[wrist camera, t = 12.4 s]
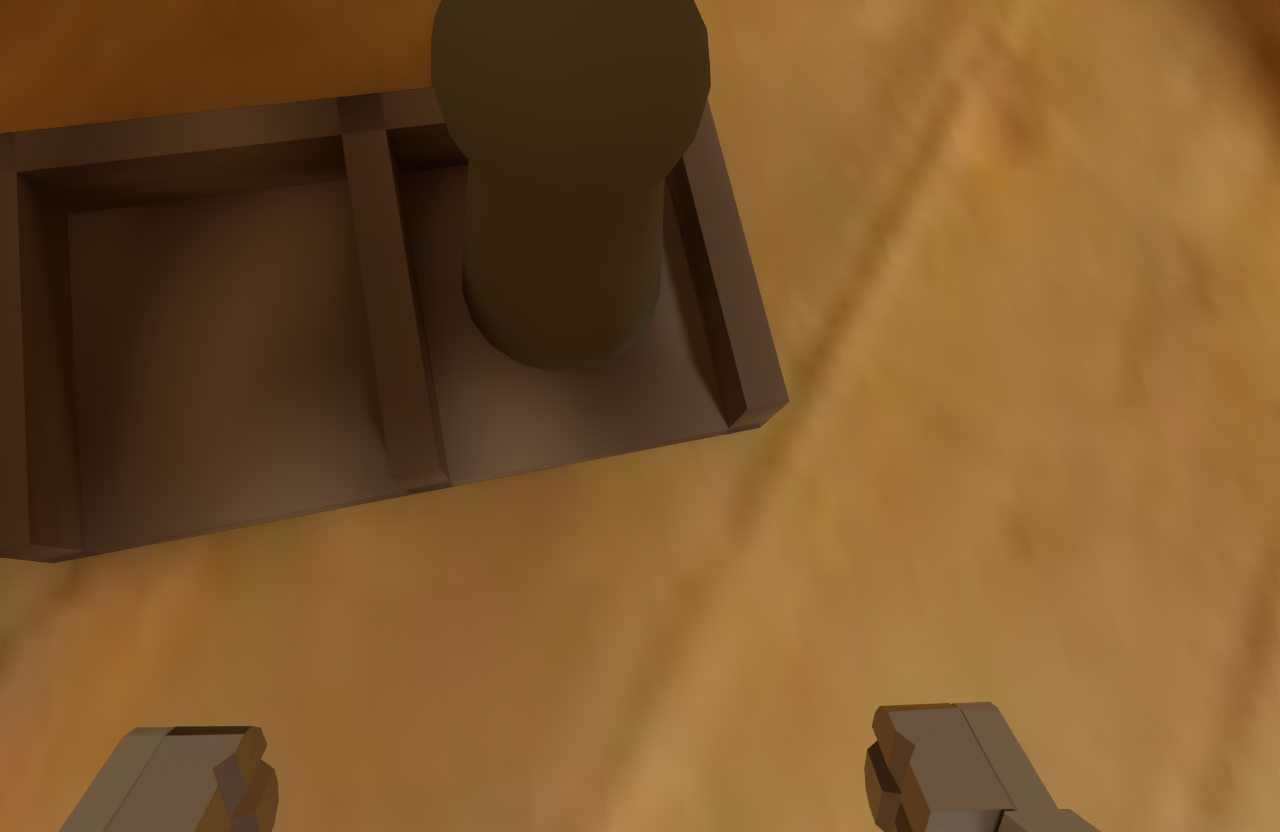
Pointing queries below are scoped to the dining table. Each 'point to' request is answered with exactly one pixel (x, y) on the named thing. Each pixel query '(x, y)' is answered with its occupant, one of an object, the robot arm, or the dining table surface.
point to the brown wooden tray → (312, 326)
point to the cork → (567, 163)
